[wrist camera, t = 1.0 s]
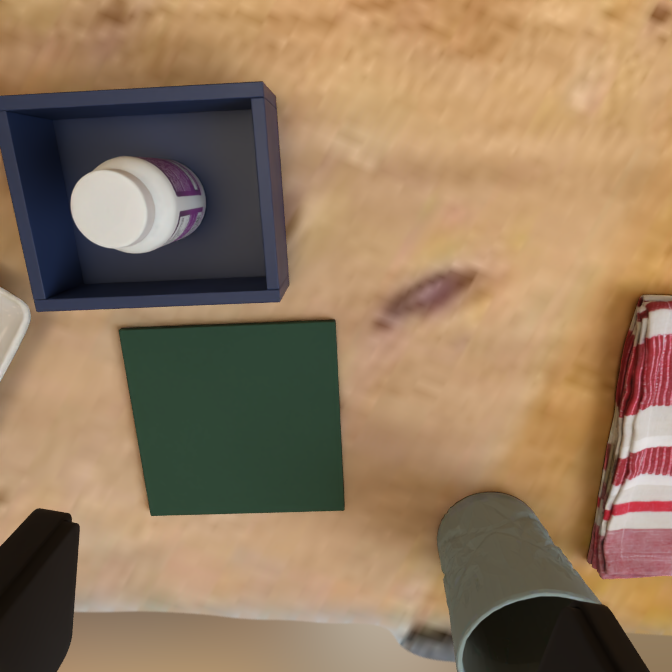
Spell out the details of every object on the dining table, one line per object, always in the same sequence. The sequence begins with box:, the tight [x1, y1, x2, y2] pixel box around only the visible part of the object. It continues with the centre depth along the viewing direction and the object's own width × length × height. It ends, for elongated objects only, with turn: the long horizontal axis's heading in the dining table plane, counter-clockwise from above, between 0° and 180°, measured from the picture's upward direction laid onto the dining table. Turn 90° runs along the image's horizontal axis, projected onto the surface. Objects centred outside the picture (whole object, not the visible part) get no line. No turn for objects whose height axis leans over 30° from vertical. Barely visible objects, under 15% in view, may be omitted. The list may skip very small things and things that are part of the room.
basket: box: [0, 81, 289, 312], centre depth 34 cm, size 13×16×5 cm
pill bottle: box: [71, 156, 206, 253], centre depth 31 cm, size 5×5×10 cm
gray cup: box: [437, 492, 601, 672], centre depth 38 cm, size 10×10×12 cm
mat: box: [119, 320, 344, 516], centre depth 41 cm, size 16×16×1 cm
